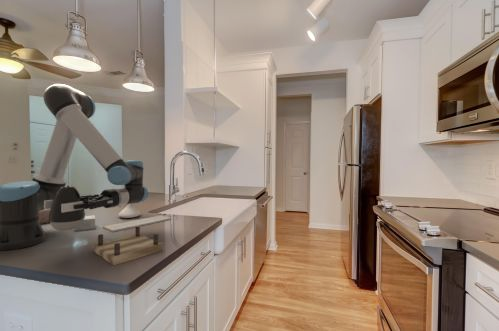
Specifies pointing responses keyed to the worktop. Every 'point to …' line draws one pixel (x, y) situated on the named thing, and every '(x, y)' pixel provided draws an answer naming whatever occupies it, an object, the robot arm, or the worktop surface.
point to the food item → (44, 216)
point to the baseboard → (136, 223)
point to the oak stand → (127, 247)
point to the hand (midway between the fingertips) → (53, 206)
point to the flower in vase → (129, 212)
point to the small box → (87, 223)
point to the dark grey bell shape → (66, 218)
